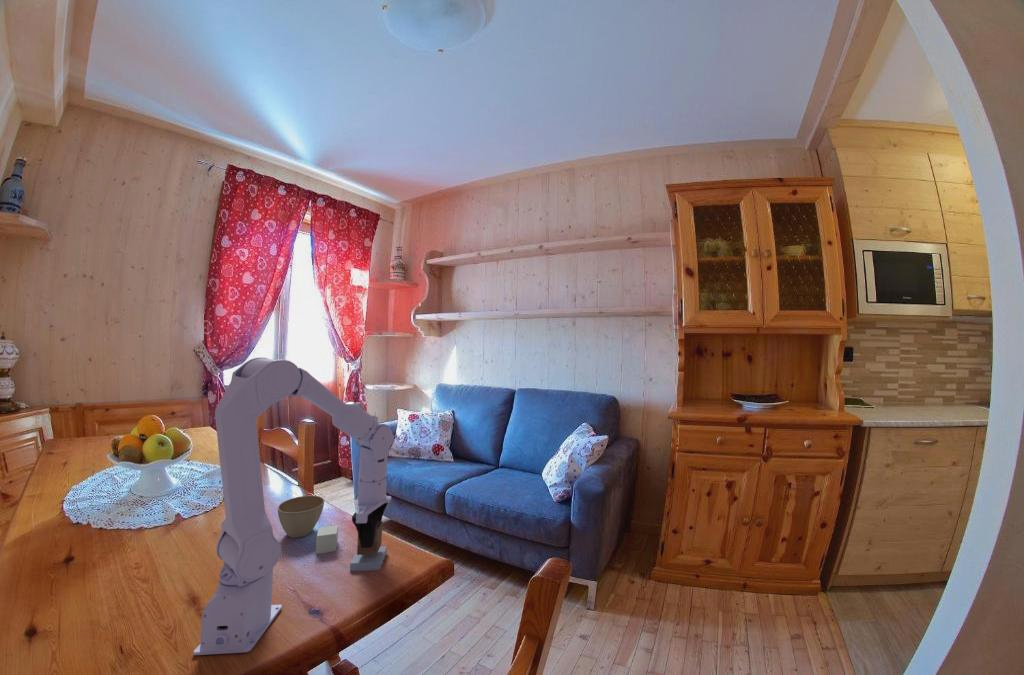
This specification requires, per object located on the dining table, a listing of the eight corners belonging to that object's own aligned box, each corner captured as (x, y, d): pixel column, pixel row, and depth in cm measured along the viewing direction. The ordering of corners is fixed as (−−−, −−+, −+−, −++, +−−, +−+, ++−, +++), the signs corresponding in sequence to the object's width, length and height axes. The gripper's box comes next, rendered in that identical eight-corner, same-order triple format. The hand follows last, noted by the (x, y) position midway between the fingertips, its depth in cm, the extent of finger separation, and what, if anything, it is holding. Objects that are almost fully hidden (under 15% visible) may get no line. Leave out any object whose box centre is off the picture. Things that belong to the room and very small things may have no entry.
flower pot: (302, 546, 82) (303, 515, 82) (265, 540, 84) (267, 509, 84) (332, 525, 92) (333, 497, 92) (298, 520, 94) (300, 493, 94)
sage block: (335, 551, 81) (336, 533, 81) (315, 554, 79) (316, 536, 79) (337, 542, 84) (338, 525, 84) (318, 544, 83) (319, 527, 83)
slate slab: (379, 572, 74) (380, 562, 74) (349, 573, 74) (350, 563, 74) (386, 555, 80) (386, 546, 80) (358, 556, 80) (359, 547, 80)
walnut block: (376, 554, 75) (377, 530, 75) (356, 554, 75) (358, 530, 75) (381, 544, 79) (382, 521, 79) (362, 544, 79) (364, 521, 79)
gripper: (383, 490, 71) (380, 560, 70) (398, 466, 85) (395, 524, 85) (346, 491, 70) (342, 561, 70) (367, 466, 84) (365, 524, 84)
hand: (369, 541), depth 77 cm, fingers closed on walnut block, 4 cm apart
